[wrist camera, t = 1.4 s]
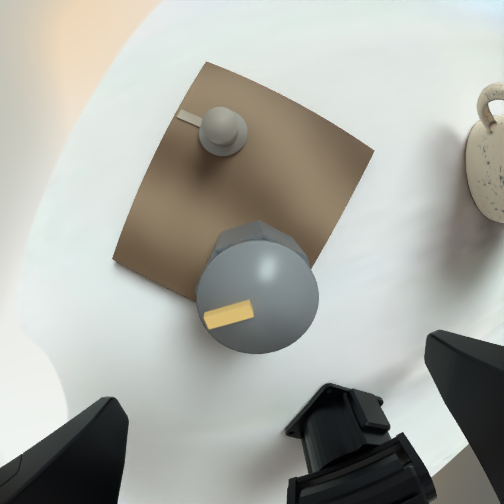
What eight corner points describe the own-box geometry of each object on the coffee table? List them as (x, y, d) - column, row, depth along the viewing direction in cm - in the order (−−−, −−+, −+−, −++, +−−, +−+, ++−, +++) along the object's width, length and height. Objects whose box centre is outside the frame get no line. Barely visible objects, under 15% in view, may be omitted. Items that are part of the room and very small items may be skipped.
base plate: (269, 329, 19) (275, 362, 15) (117, 255, 17) (89, 275, 13) (369, 151, 16) (399, 147, 12) (207, 66, 14) (199, 39, 11)
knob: (285, 211, 16) (304, 228, 11) (308, 294, 17) (331, 340, 12) (196, 239, 16) (175, 268, 11) (226, 319, 18) (221, 371, 12)
